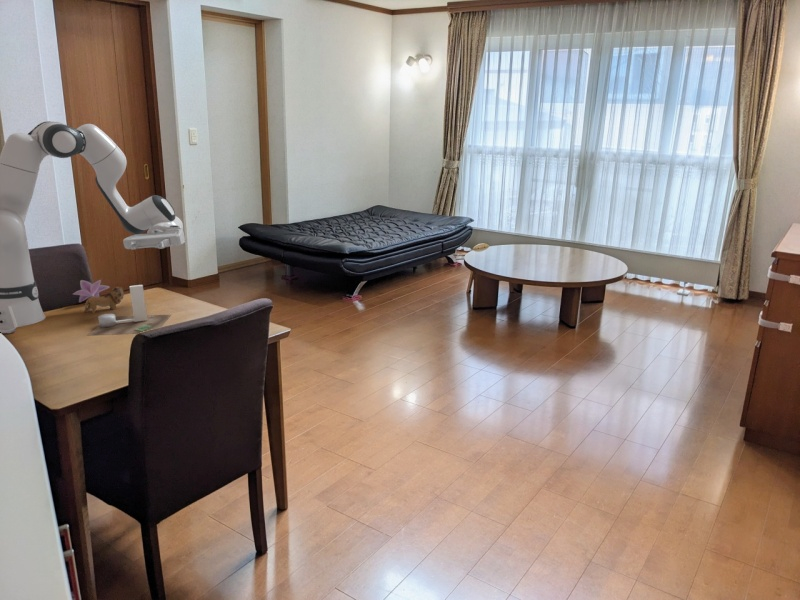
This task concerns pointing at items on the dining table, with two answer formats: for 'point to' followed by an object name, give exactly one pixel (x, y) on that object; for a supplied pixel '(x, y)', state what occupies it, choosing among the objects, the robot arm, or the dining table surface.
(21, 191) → the robot arm
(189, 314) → the dining table surface
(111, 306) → the lion figurine
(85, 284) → the lily
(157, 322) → the dial board
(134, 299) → the tuning peg
